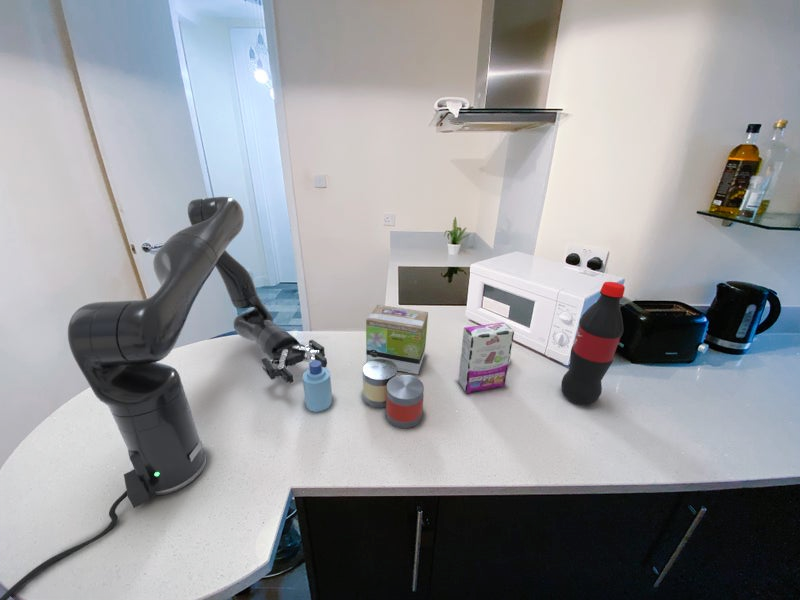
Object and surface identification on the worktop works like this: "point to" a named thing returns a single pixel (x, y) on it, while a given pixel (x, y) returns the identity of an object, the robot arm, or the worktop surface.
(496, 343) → the candy bar box
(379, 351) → the tea box
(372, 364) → the can back
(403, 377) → the can front
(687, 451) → the worktop surface
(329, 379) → the plastic bottle
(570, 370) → the cola bottle
